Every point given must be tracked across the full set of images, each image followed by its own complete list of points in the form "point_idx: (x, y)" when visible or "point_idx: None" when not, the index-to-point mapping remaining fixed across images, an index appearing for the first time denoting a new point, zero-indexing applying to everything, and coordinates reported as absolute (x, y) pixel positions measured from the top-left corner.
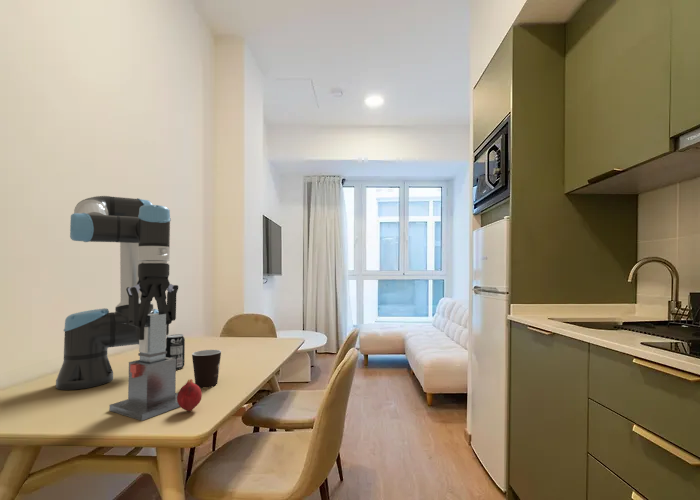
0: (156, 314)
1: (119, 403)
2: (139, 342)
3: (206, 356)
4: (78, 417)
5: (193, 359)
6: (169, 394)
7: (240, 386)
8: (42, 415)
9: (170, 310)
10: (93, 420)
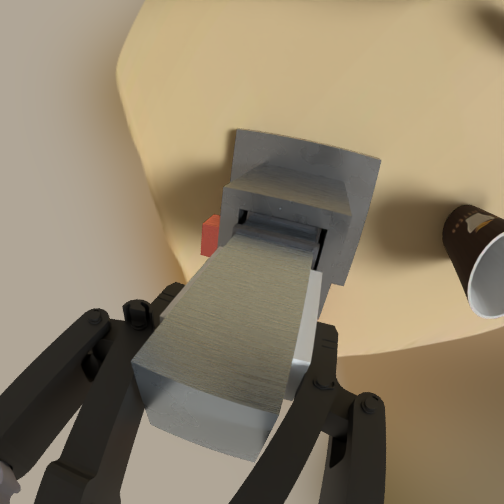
0: (207, 436)
1: (252, 144)
2: (201, 269)
3: (468, 300)
4: (192, 101)
5: (475, 245)
6: None
7: (450, 315)
8: (176, 24)
9: (329, 476)
10: (193, 150)
